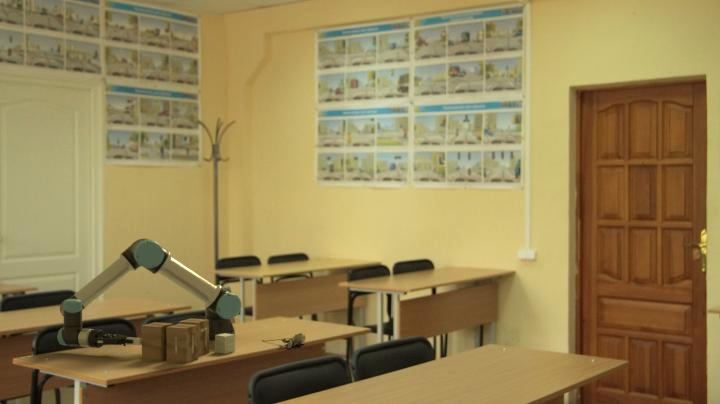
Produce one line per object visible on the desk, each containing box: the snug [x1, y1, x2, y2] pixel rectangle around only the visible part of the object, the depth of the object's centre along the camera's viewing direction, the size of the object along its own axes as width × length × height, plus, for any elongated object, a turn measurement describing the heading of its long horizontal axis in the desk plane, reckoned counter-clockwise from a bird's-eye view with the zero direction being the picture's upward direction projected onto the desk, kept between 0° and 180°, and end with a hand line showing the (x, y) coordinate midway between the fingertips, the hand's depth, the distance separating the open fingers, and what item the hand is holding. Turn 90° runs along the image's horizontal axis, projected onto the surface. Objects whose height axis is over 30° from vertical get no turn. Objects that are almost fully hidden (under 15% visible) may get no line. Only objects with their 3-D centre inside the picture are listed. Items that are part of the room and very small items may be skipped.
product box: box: [214, 333, 236, 355], centre depth 383 cm, size 6×6×7 cm
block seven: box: [178, 318, 210, 358], centre depth 378 cm, size 9×9×14 cm
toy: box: [262, 332, 306, 350], centre depth 399 cm, size 29×5×15 cm
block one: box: [166, 323, 199, 365], centre depth 364 cm, size 9×9×14 cm
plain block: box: [141, 321, 174, 363], centre depth 368 cm, size 9×9×14 cm
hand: (140, 341), depth 371 cm, fingers closed
